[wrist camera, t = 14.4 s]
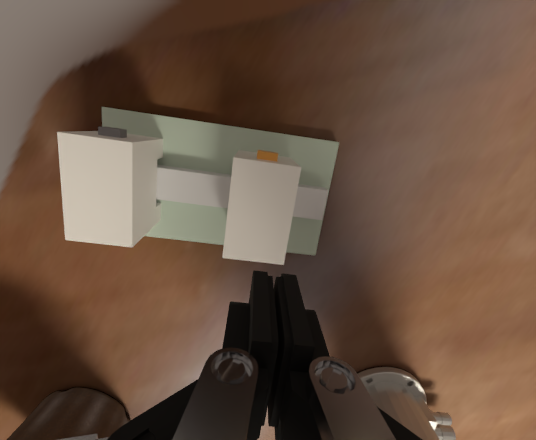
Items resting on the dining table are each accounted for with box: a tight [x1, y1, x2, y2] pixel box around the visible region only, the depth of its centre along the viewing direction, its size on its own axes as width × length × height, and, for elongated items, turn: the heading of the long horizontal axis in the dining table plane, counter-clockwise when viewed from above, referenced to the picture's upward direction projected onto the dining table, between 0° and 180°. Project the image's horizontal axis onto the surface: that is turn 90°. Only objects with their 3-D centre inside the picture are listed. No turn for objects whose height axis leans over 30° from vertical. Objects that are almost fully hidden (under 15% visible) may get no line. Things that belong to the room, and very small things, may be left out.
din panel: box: [57, 107, 339, 256], centre depth 26 cm, size 22×12×8 cm, turn 82°
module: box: [222, 150, 301, 265], centre depth 25 cm, size 5×9×7 cm, turn 172°
